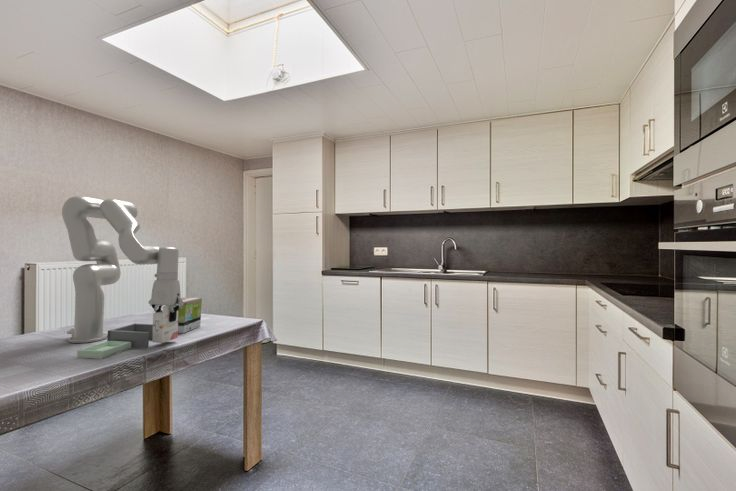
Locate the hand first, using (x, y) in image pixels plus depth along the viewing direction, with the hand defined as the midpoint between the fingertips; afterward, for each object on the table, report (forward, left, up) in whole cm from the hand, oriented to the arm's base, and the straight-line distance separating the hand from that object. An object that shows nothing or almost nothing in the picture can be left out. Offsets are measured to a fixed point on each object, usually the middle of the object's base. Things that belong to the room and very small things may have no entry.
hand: (165, 320), depth 140 cm
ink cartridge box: (0, 0, -8) cm, 8 cm away
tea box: (-8, +24, -10) cm, 27 cm away
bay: (-11, 0, -10) cm, 15 cm away
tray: (-13, -14, -10) cm, 22 cm away
